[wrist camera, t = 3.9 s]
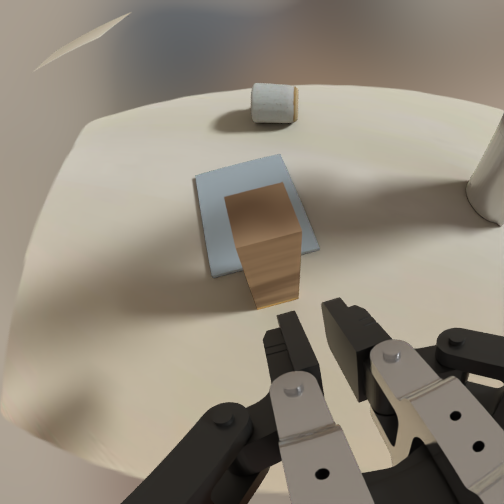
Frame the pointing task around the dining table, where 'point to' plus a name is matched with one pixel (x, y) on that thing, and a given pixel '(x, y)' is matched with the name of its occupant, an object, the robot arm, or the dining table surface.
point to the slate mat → (237, 181)
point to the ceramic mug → (274, 103)
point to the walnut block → (267, 243)
